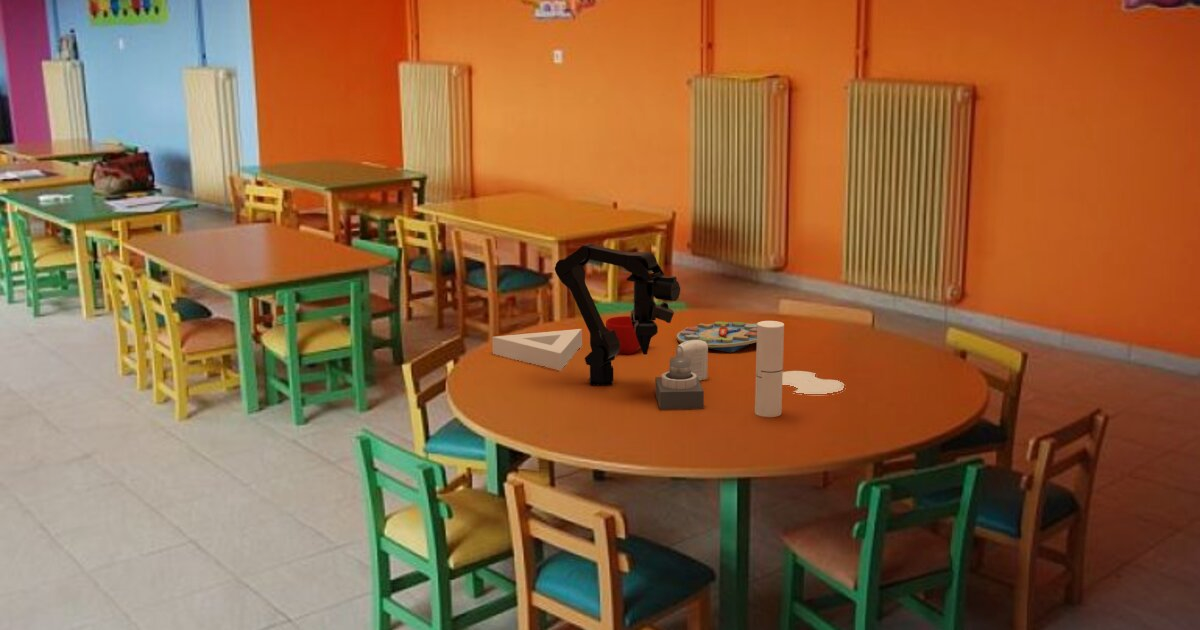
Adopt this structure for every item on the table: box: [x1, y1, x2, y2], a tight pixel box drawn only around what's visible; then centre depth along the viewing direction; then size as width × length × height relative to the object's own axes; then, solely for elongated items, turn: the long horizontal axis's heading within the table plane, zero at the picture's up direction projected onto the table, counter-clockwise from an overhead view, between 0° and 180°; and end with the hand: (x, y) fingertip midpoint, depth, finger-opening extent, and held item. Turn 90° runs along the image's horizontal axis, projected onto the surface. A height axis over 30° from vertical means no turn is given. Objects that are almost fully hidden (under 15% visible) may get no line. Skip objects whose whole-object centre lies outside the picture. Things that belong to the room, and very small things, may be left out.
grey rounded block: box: [669, 356, 691, 380], centre depth 337 cm, size 6×6×7 cm
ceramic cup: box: [605, 315, 641, 355], centre depth 388 cm, size 13×17×10 cm
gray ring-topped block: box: [654, 370, 705, 410], centre depth 338 cm, size 12×14×8 cm
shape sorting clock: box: [676, 321, 757, 353], centre depth 399 cm, size 31×30×6 cm
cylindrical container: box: [754, 320, 785, 418], centre depth 325 cm, size 7×7×25 cm
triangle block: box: [491, 328, 583, 372], centre depth 379 cm, size 30×26×6 cm
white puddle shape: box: [782, 370, 845, 394], centre depth 354 cm, size 20×2×25 cm
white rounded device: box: [675, 340, 709, 382], centre depth 356 cm, size 10×4×12 cm, turn 123°
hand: (643, 350), depth 346 cm, fingers open, 9 cm apart
